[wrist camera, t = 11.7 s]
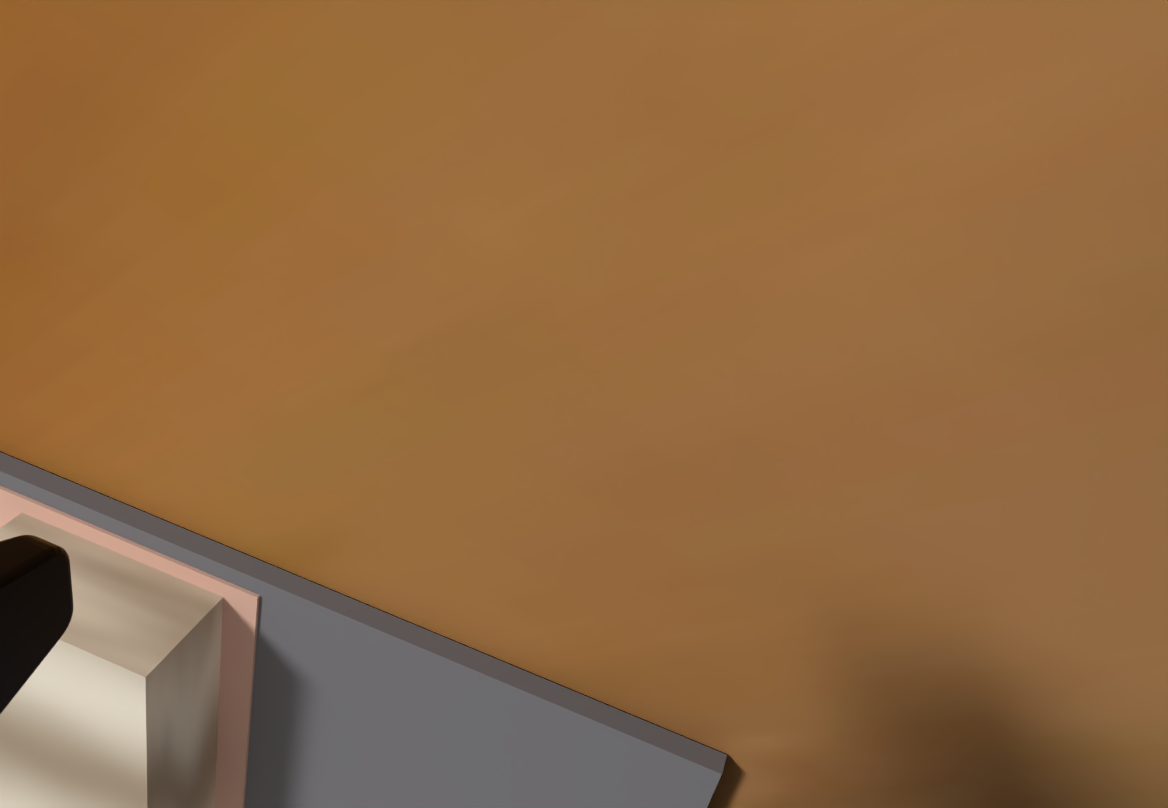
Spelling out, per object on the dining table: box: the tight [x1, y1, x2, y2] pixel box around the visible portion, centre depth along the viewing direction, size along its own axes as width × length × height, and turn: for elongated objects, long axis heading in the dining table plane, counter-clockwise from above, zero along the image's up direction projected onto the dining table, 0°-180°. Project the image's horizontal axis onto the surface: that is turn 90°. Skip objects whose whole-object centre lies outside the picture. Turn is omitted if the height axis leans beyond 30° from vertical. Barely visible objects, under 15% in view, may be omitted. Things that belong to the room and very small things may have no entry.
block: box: [0, 513, 223, 808], centre depth 29 cm, size 10×6×3 cm, turn 167°
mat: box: [0, 452, 727, 808], centre depth 29 cm, size 21×12×1 cm, turn 77°
